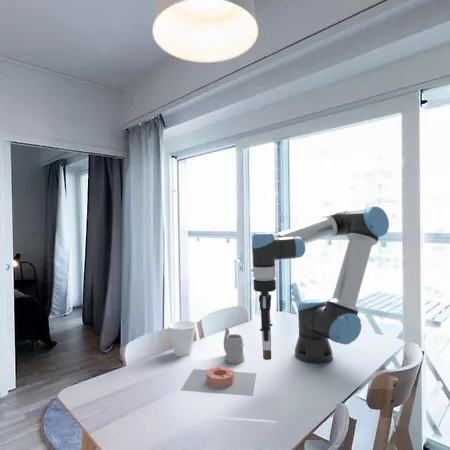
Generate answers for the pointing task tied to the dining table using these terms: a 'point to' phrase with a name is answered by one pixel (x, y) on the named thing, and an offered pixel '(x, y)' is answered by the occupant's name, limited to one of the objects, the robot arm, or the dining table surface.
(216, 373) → the bead
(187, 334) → the cup
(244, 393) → the mat
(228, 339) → the mug
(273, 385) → the dining table surface
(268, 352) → the brown wooden bar
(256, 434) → the dining table surface
